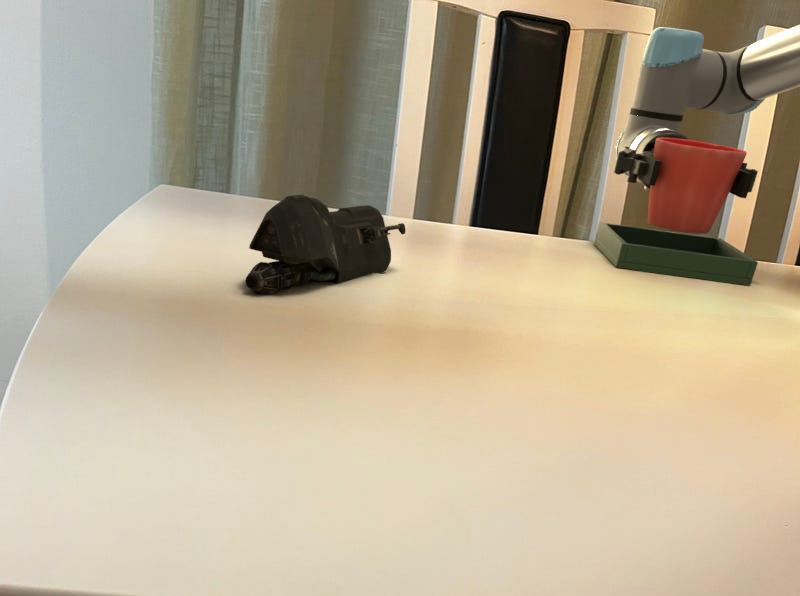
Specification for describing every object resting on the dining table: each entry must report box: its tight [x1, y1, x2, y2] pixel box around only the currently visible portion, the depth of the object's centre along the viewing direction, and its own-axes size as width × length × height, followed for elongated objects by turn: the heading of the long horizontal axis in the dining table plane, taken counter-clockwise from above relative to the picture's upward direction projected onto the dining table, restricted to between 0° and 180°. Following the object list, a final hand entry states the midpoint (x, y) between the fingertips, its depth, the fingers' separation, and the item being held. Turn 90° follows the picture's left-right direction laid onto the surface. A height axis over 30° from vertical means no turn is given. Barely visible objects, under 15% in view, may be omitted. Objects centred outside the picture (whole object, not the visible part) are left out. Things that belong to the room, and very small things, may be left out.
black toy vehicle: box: [245, 194, 406, 295], centre depth 95 cm, size 7×25×8 cm, turn 152°
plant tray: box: [593, 221, 759, 287], centre depth 129 cm, size 17×17×3 cm
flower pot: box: [647, 137, 747, 235], centre depth 125 cm, size 11×11×10 cm
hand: (701, 179), depth 121 cm, fingers closed on flower pot, 10 cm apart
